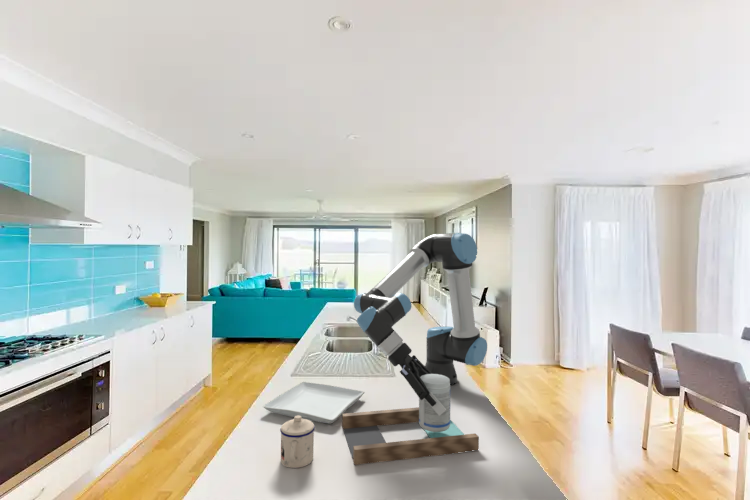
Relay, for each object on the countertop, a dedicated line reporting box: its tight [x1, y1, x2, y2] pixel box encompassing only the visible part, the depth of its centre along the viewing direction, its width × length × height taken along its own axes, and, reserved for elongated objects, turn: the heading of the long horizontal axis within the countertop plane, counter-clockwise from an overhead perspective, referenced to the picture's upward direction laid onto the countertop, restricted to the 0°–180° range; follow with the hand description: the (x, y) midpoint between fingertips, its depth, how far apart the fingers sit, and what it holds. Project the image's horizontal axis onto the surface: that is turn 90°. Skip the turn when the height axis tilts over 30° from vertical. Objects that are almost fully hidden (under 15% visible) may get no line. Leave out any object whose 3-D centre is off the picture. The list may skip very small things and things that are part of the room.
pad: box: [423, 419, 465, 438], centre depth 119 cm, size 11×17×1 cm, turn 13°
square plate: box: [262, 381, 365, 424], centre depth 138 cm, size 27×27×4 cm
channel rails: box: [341, 406, 480, 466], centre depth 117 cm, size 36×22×4 cm, turn 103°
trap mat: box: [342, 426, 387, 460], centre depth 114 cm, size 11×17×1 cm, turn 13°
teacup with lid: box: [279, 415, 316, 469], centre depth 102 cm, size 12×9×12 cm
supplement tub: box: [418, 374, 451, 432], centre depth 118 cm, size 10×10×15 cm
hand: (444, 405), depth 118 cm, fingers closed on supplement tub, 9 cm apart
